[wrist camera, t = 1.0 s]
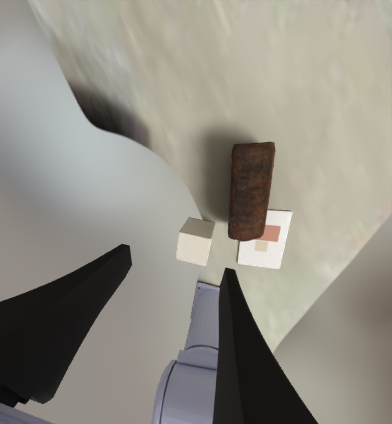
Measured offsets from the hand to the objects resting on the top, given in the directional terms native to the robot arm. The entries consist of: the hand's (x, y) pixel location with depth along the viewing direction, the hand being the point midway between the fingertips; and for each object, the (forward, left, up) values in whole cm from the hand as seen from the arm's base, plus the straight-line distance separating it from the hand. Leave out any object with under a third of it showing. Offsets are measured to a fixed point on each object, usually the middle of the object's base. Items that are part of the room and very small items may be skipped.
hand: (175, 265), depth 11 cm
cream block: (-3, 0, -12) cm, 12 cm away
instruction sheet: (-2, -9, -12) cm, 15 cm away
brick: (+4, -5, -12) cm, 14 cm away
